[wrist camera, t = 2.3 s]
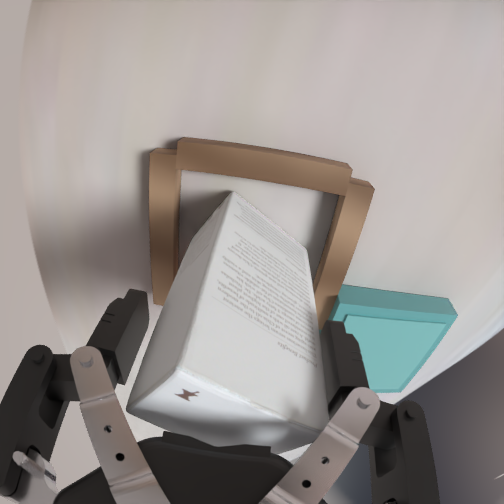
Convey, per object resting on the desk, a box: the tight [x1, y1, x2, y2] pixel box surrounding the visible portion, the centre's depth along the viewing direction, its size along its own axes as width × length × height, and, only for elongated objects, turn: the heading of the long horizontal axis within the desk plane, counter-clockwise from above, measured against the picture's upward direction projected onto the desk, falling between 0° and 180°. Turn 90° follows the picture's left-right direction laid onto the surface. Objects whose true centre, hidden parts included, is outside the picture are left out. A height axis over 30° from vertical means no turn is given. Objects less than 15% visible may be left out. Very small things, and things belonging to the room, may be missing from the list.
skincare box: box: [126, 191, 329, 455], centre depth 14 cm, size 6×4×12 cm
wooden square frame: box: [149, 137, 375, 330], centre depth 18 cm, size 12×12×1 cm
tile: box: [319, 285, 458, 393], centre depth 22 cm, size 10×10×2 cm
